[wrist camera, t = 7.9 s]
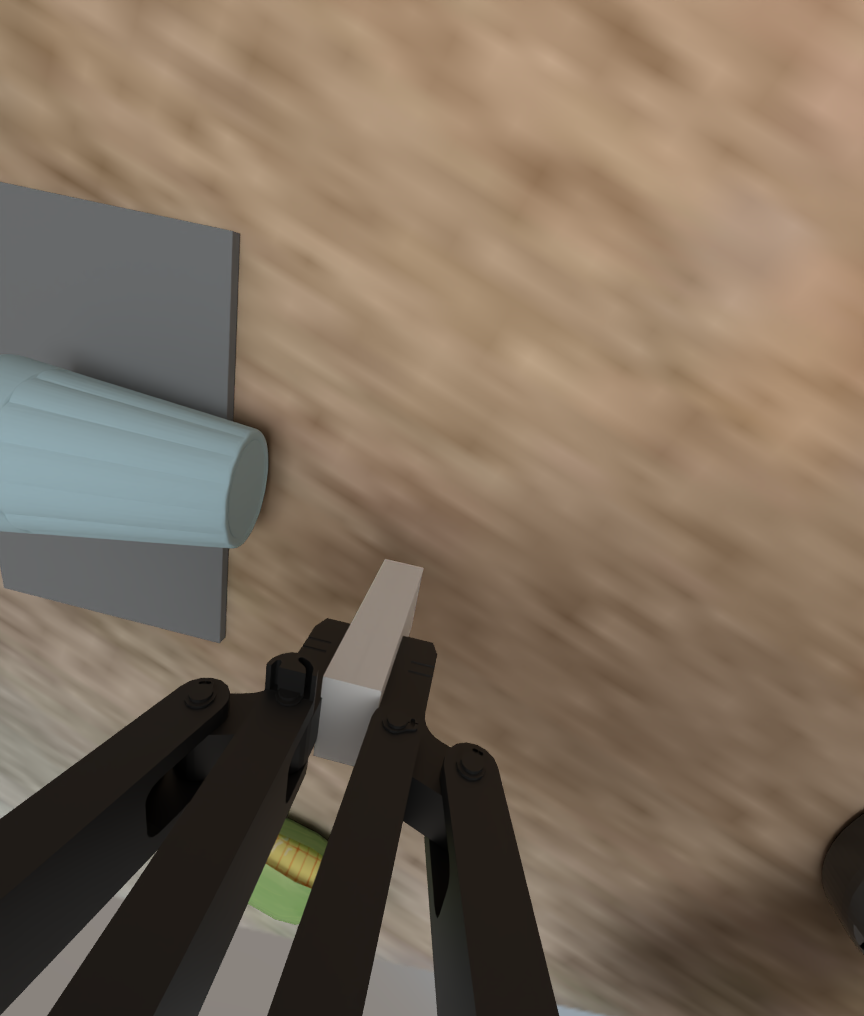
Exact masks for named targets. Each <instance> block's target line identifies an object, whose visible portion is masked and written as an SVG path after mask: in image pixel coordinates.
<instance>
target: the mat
mask: <svg viewBox="0 0 864 1016" xmlns="http://www.w3.org/2000/svg"><path fill="white" fill-rule="evenodd" d="M239 244H240V234H239V233H236V232H234V231H229V230H225V229H220V228H215V227H211V226H206V225H201V224H196V223H192V222H187V221H182V220H177V219H173V218H168V217H163V216H159V215H154V214H149V213H144V212H140V211H135V210H130V209H126V208H121V207H116V206H111V205H107V204H102V203H97V202H92V201H88V200H83V199H78V198H74V197H69V196H64V195H59V194H55V193H50V192H45V191H40V190H36V189H31V188H26V187H22V186H17V185H12V184H7V183H3V182H0V354H14V355H20V356H24V357H28V358H31V359H34V360H37V361H40V362H44V363H47V364H50V365H53V366H57V367H60V368H63V369H66V370H69V371H72V372H75V373H78V374H82V375H85V376H88V377H91V378H94V379H98V380H101V381H104V382H107V383H111V384H114V385H117V386H120V387H124V388H127V389H130V390H133V391H137V392H140V393H143V394H146V395H149V396H153V397H156V398H159V399H162V400H166V401H169V402H172V403H175V404H178V405H182V406H185V407H188V408H191V409H195V410H198V411H201V412H204V413H208V414H211V415H214V416H217V417H220V418H224V419H227V420H230V421H233V409H234V381H235V354H236V326H237V299H238V271H239ZM0 567H1V573H2V578H3V584H4V588H7V589H11V590H15V591H19V592H22V593H26V594H30V595H34V596H38V597H42V598H46V599H50V600H54V601H57V602H61V603H65V604H69V605H73V606H77V607H81V608H85V609H89V610H92V611H96V612H100V613H104V614H108V615H112V616H116V617H120V618H123V619H127V620H131V621H135V622H139V623H143V624H147V625H151V626H155V627H158V628H162V629H166V630H170V631H174V632H178V633H182V634H186V635H190V636H193V637H197V638H201V639H205V640H209V641H213V642H217V643H220V642H221V641H222V640H223V639H224V638H225V628H226V601H227V574H228V548H219V547H205V546H191V545H178V544H164V543H151V542H138V541H124V540H111V539H98V538H85V537H72V536H58V535H45V534H29V533H16V532H2V531H0Z"/></svg>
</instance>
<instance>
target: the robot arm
mask: <svg viewBox="0 0 864 1016" xmlns="http://www.w3.org/2000/svg"><path fill="white" fill-rule="evenodd" d="M422 573H423V567H418V566H414V565H410V564H406V563H401V562H397V561H393V560H388V559H385V560H384V562H383V564H382V565H381V567H380V569H379V571H378V573H377V575H376V577H375V579H374V581H373V583H372V584H371V586H370V588H369V590H368V592H367V594H366V596H365V598H364V600H363V602H362V603H361V605H360V607H359V609H358V611H357V613H356V615H355V617H354V619H353V621H352V622H351V624H349V623H345V622H341V621H337V620H332V619H328V618H327V619H325V620H324V621H322V622H321V623H319V624H318V625H316V626H315V627H314V629H313V630H312V632H311V633H310V635H309V637H308V639H307V640H306V641H305V643H304V644H303V647H301V649H300V651H299V652H298V653H293V652H291V653H285V654H281V655H278V656H276V657H274V658H272V659H271V660H270V661H269V662H268V663H267V667H266V682H265V690H264V691H261V692H257V693H243V694H230V691H229V688H228V686H227V685H226V684H225V683H224V682H222V681H221V680H218V679H214V678H199V679H196V680H192V681H189V682H187V683H185V684H184V685H182V686H180V687H179V688H177V689H176V690H175V691H173V692H172V693H171V694H169V695H168V696H167V697H165V698H164V699H162V700H161V701H160V702H158V703H157V704H156V705H154V706H153V707H152V708H150V709H149V710H148V711H146V712H145V713H143V714H142V715H141V716H139V717H138V718H137V719H135V720H134V721H133V722H131V723H130V724H129V725H127V726H126V727H124V728H123V729H122V730H120V731H119V732H118V733H116V734H115V735H114V736H112V737H111V738H110V739H108V740H107V741H105V742H104V743H103V744H101V745H100V746H99V747H97V748H96V749H95V750H93V751H92V752H91V753H89V754H88V755H86V756H85V757H84V758H82V759H81V760H80V761H78V762H77V763H76V764H74V765H73V766H72V767H70V768H69V769H67V770H66V771H65V772H63V773H62V774H61V775H59V776H58V777H57V778H55V779H54V780H53V781H51V782H50V783H48V784H47V785H46V786H44V787H43V788H42V789H40V790H39V791H38V792H36V793H35V794H34V795H32V796H31V797H29V798H28V799H27V800H25V801H24V802H23V803H21V804H20V805H19V806H17V807H16V808H15V809H13V810H12V811H10V812H9V813H8V814H6V815H5V816H4V817H2V818H1V819H0V1015H1V1014H2V1013H3V1012H4V1011H5V1010H6V1009H7V1008H8V1007H9V1005H10V1004H11V1003H12V1002H13V1001H14V1000H15V999H16V998H17V997H18V996H19V995H20V994H21V993H22V992H23V991H24V990H25V989H26V988H27V987H28V985H29V984H30V983H31V982H32V981H33V980H34V979H35V978H36V977H37V976H38V975H39V974H40V973H41V972H42V971H43V970H44V968H46V967H47V966H48V964H49V963H50V962H51V961H52V960H53V959H54V958H55V957H56V956H57V955H58V954H59V953H60V952H61V951H62V950H63V949H64V948H65V946H67V945H68V943H69V942H70V941H71V940H72V939H73V938H74V937H75V936H76V935H77V934H78V933H79V932H80V931H81V930H82V929H83V928H84V927H85V926H86V924H87V923H88V922H89V921H90V920H91V919H92V918H93V917H94V916H95V915H96V914H97V913H98V912H99V911H100V910H101V909H102V908H103V907H104V906H105V905H106V904H107V902H108V901H109V900H110V899H111V898H112V897H113V896H114V895H115V894H116V893H117V892H118V891H119V890H120V889H121V888H122V887H123V886H124V885H125V884H126V883H127V882H128V880H129V879H130V878H131V877H132V876H133V875H134V874H135V873H136V872H137V871H138V870H139V869H140V868H141V867H142V866H143V865H144V864H145V863H146V862H147V861H148V859H149V858H150V857H151V856H152V855H153V854H154V853H155V852H156V851H157V852H156V853H155V855H154V856H153V858H152V859H151V861H150V862H149V864H148V865H147V867H146V868H145V870H144V871H143V873H142V874H141V876H140V877H139V879H138V880H137V882H136V883H135V885H134V886H133V888H132V889H131V891H130V892H129V894H128V895H127V897H126V898H125V900H124V901H123V903H122V904H121V906H120V908H119V909H118V911H117V912H116V914H115V915H114V916H113V918H112V919H111V921H110V922H109V924H108V925H107V927H106V928H105V930H104V931H103V933H102V934H101V936H100V937H99V939H98V941H97V942H96V943H95V945H94V946H93V948H92V949H91V951H90V953H89V954H88V955H87V957H86V959H85V960H84V961H83V963H82V964H81V966H80V967H79V969H78V970H77V972H76V974H75V975H74V976H73V978H72V979H71V981H70V983H69V984H68V985H67V987H66V988H65V990H64V991H63V993H62V994H61V996H60V997H59V999H58V1001H57V1002H56V1003H55V1005H54V1007H53V1008H52V1009H51V1011H50V1012H49V1014H48V1015H47V1016H198V1014H199V1012H200V1010H201V1007H202V1005H203V1003H204V1000H205V998H206V996H207V994H208V991H209V989H210V987H211V985H212V983H213V980H214V978H215V976H216V974H217V972H218V969H219V967H220V965H221V963H222V960H223V958H224V956H225V954H226V951H227V949H228V947H229V945H230V942H231V940H232V938H233V936H234V933H235V931H236V929H237V927H238V924H239V922H240V920H241V918H242V915H243V913H244V911H245V909H246V907H247V904H248V902H249V900H250V898H251V895H252V893H253V891H254V889H255V886H256V884H257V882H258V880H259V877H260V875H261V873H262V871H263V868H264V866H265V864H266V862H267V859H268V857H269V855H270V853H271V850H272V848H273V846H274V844H275V841H276V839H277V837H278V835H279V833H280V830H281V828H282V826H283V824H284V821H285V819H286V817H287V815H288V812H289V810H290V808H291V806H292V803H293V801H294V799H295V797H296V794H297V792H298V790H299V788H300V785H301V783H302V781H303V779H304V776H305V774H306V770H307V764H308V757H309V755H310V753H311V751H312V749H313V747H314V744H315V747H314V755H313V756H317V757H321V758H324V759H328V760H332V761H336V762H339V763H343V764H347V765H351V766H354V768H353V771H352V774H351V777H350V780H349V783H348V786H347V788H346V791H345V794H344V797H343V800H342V803H341V806H340V809H339V811H338V814H337V817H336V820H335V823H334V826H333V829H332V831H331V834H330V837H329V840H328V843H327V846H326V849H325V852H324V854H323V857H322V860H321V863H320V866H319V869H318V872H317V875H316V877H315V880H314V883H313V886H312V889H311V892H310V895H309V897H308V900H307V903H306V906H305V909H304V912H303V915H302V918H301V920H300V923H299V926H298V929H297V932H296V935H295V938H294V940H293V943H292V946H291V949H290V952H289V955H288V958H287V961H286V963H285V967H284V969H283V972H282V975H281V978H280V981H279V984H278V987H277V989H276V992H275V995H274V998H273V1001H272V1004H271V1006H270V1009H269V1013H268V1015H267V1016H362V1014H363V1009H364V1004H365V999H366V995H367V990H368V985H369V980H370V975H371V971H372V966H373V961H374V957H375V952H376V947H377V942H378V937H379V933H380V928H381V923H382V918H383V914H384V909H385V904H386V899H387V894H388V890H389V885H390V880H391V875H392V871H393V866H394V861H395V856H396V852H397V847H398V842H399V837H400V832H401V828H402V823H403V821H404V822H405V823H407V824H408V825H410V826H411V827H413V828H414V829H416V830H417V831H419V832H420V833H422V834H423V835H424V836H425V837H424V841H425V854H426V868H427V881H428V895H429V908H430V922H431V935H432V949H433V962H434V976H435V988H436V1002H437V1015H438V1016H559V1013H558V1009H557V1005H556V1001H555V997H554V993H553V989H552V985H551V981H550V977H549V972H548V968H547V964H546V960H545V956H544V952H543V948H542V944H541V940H540V936H539V932H538V928H537V924H536V920H535V916H534V912H533V908H532V903H531V899H530V895H529V891H528V887H527V883H526V879H525V875H524V871H523V867H522V863H521V859H520V855H519V851H518V847H517V843H516V839H515V835H514V830H513V826H512V822H511V818H510V814H509V810H508V806H507V802H506V798H505V794H504V790H503V786H502V782H501V778H500V774H499V770H498V766H497V764H496V762H495V760H494V758H493V757H492V756H491V755H490V754H489V753H488V752H487V750H485V749H483V748H482V747H480V746H478V745H475V744H471V743H459V744H456V745H454V746H453V747H449V746H447V745H445V744H444V743H442V742H441V741H439V740H438V739H436V738H435V737H434V736H433V735H432V734H431V732H430V731H429V729H428V727H427V726H426V722H425V711H426V706H427V701H428V697H429V692H430V687H431V682H432V677H433V672H434V667H435V663H436V658H437V653H436V650H435V647H434V645H433V643H431V642H427V641H423V640H419V639H415V638H410V637H409V634H410V631H411V628H412V623H413V618H414V613H415V608H416V603H417V598H418V593H419V588H420V583H421V578H422ZM822 883H823V888H824V891H825V894H826V896H827V898H828V900H829V902H830V903H831V905H832V907H833V909H834V910H835V912H836V914H837V916H838V917H839V919H840V921H841V923H842V924H843V926H844V928H845V929H846V931H847V933H848V935H849V936H850V938H851V939H852V941H853V942H854V943H855V945H856V946H857V947H858V949H859V950H860V951H861V952H862V953H863V955H864V814H863V815H862V816H860V817H859V818H857V819H856V820H855V821H854V822H852V823H851V824H850V825H849V826H848V827H847V828H846V829H845V830H844V831H843V832H842V833H841V834H840V835H839V836H838V837H837V838H836V840H835V841H834V842H833V844H832V846H831V847H830V849H829V851H828V853H827V855H826V857H825V860H824V864H823V868H822Z"/></svg>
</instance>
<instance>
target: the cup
mask: <svg viewBox="0 0 864 1016" xmlns="http://www.w3.org/2000/svg"><path fill="white" fill-rule="evenodd" d="M267 475H268V448H267V443H266V439H265V437H264V435H263V434H262V432H261V431H259V430H258V429H255V428H252V427H249V426H245V425H242V424H239V423H236V422H233V421H230V420H227V419H224V418H220V417H217V416H214V415H211V414H208V413H204V412H201V411H198V410H195V409H191V408H188V407H185V406H182V405H178V404H175V403H172V402H169V401H166V400H162V399H159V398H156V397H153V396H149V395H146V394H143V393H140V392H137V391H133V390H130V389H127V388H124V387H120V386H117V385H114V384H111V383H107V382H104V381H101V380H98V379H94V378H91V377H88V376H85V375H82V374H78V373H75V372H72V371H69V370H66V369H63V368H60V367H57V366H53V365H50V364H47V363H44V362H40V361H37V360H34V359H31V358H28V357H24V356H20V355H14V354H0V531H2V532H16V533H29V534H45V535H58V536H72V537H85V538H98V539H111V540H124V541H138V542H151V543H164V544H178V545H191V546H205V547H219V548H237V547H239V546H241V545H242V544H243V543H244V542H245V541H246V539H247V538H248V537H249V535H250V533H251V532H252V530H253V528H254V525H255V523H256V521H257V518H258V516H259V513H260V510H261V506H262V502H263V498H264V494H265V489H266V482H267Z"/></svg>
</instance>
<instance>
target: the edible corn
mask: <svg viewBox="0 0 864 1016" xmlns="http://www.w3.org/2000/svg"><path fill="white" fill-rule="evenodd" d="M327 843H328V841H327V840H326V839H325V838H323V837H322V836H321V835H320V834H318V833H316V832H314V831H312V830H310V829H308V828H306V827H304V826H303V825H301V824H299V823H297V822H295V821H293V820H291V819H288V818H286V819H285V821H284V824H283V826H282V828H281V830H280V833H279V835H278V837H277V839H276V841H275V844H274V846H273V848H272V850H271V853H270V855H269V857H268V859H267V862H266V864H265V866H264V868H263V871H262V873H261V875H260V877H259V880H258V882H257V884H256V886H255V889H254V891H253V893H252V895H251V898H250V900H249V902H248V904H249V905H251V906H253V907H255V908H256V909H258V910H260V911H261V912H263V913H265V914H267V915H268V916H270V917H272V918H273V919H275V920H279V921H283V922H287V923H291V924H295V925H296V924H299V923H300V920H301V918H302V915H303V912H304V909H305V906H306V903H307V900H308V897H309V895H310V892H311V889H312V886H313V883H314V880H315V877H316V875H317V872H318V869H319V866H320V863H321V860H322V857H323V854H324V852H325V849H326V846H327Z"/></svg>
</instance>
